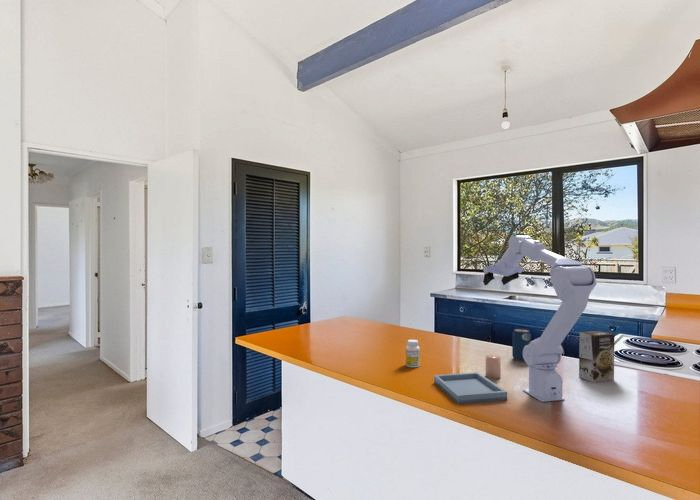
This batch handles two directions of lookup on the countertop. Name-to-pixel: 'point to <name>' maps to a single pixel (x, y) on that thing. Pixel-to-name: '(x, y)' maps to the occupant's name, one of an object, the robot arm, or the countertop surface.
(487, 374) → the pillar candle
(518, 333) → the soda can
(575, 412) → the countertop surface
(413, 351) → the supplement bottle
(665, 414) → the countertop surface
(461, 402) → the tray
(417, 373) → the countertop surface
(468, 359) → the countertop surface
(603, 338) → the coffee box
